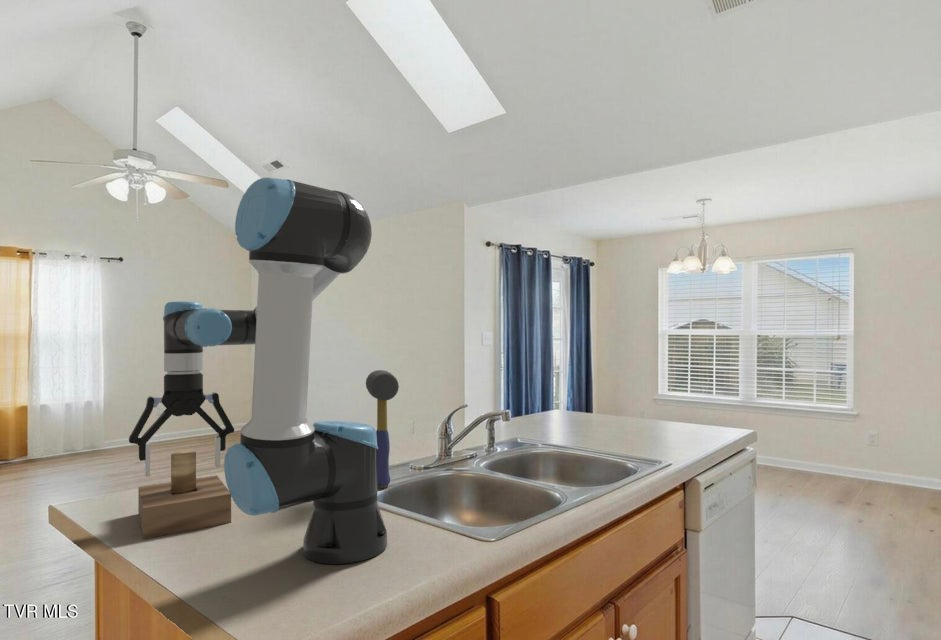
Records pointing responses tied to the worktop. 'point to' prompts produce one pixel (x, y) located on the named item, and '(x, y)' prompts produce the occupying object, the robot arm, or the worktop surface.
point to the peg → (183, 472)
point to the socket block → (183, 507)
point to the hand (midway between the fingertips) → (183, 470)
